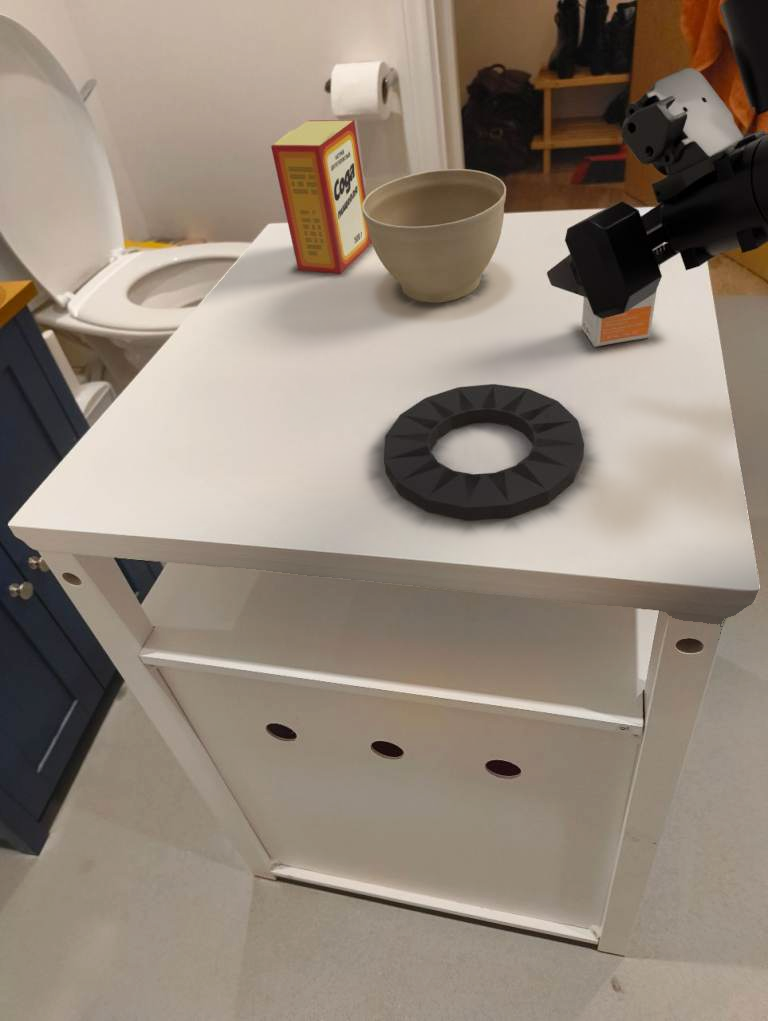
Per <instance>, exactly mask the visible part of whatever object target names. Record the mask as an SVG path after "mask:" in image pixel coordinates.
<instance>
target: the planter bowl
mask: <svg viewBox="0 0 768 1021" xmlns="http://www.w3.org/2000/svg"><path fill="white" fill-rule="evenodd" d="M365 197H366V198H365V199H364V201H363V204H362V211H363V216H364V219H365V221H366V223H367V228H368V232H369V236H370V239H371V242H372V243H371V244H372V247H373V250H374V252H375V253H376V256H377V258H378V259H379V261H380V263H381V264H382V265H383V267H384V268H385V269H386V271H387V272H388V273H389V274H390V276H391V277H393V278H394V279H395V280H396V281H397V282H398V283H399V284H400V287H401V289H402V292H403V293H404V295H405V296H407V297H408V298H410V299H412V300H415V301H418V302H423V303H445V302H451V301H455V300H458V299H461V298H464V297H466V296H467V295H470V294H471V293H473V292H474V291H475V290H476V289H477V288H478V287H479V285H480V283H481V279H482V274H483V272H484V271H485V270H486V268H487V267H488V264H489V263H490V262H491V261H492V258H493V256H494V254H495V252H496V249H497V246H498V244H499V241H500V238H501V234H502V230H503V225H504V218H505V217H504V215H505V203H506V200H507V199H506V198H507V186H506V185H505V183H504V181H503V180H502V179H500V177H497V176H496V175H493V174H491V173H488V172H486V171H485V172H484V171H481V170H475V169H468V168H467V169H466V168H448V169H433V170H427V171H422V172H416V173H413V174H409V175H405V176H402V177H399V178H396V179H393V180H391V181H388V182H385V183H384V184H382V185H380V186H378V187H377V188H375V189H374V190H372V191H370V193H368V194H367V196H365Z"/></svg>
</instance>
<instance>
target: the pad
mask: <svg viewBox="0 0 768 1021" xmlns="http://www.w3.org/2000/svg"><path fill="white" fill-rule="evenodd" d="M579 422H580V421H579V420H578V419H577V418H576V416H574V415H573V414H572V413H571V412H570V411H569V410H568V409H567V408H566V407H565V406H564V405H563V404H562V403H561V402H560V401H558V400H557V399H554V398H552V397H549V396H548V395H545V394H543V393H540V392H539V391H538V392H537V391H535V390H533V389H531V388H526V387H519V386H511V385H505V384H497V383H489V384H479V385H466V386H457V387H454V388H451V389H448V390H445V391H442V392H439V393H436V394H432V395H429V396H427V397H425V398H422V399H421V400H420V401H418V402H417V403H415V404H414V405H413V406H411V407H409V408H408V409H406V410H404V411H403V412H402V413H400V414H399V415H398V417H397V418H396V420H395V421H394V423H393V424H392V426H390V429H389V430H388V431H387V433H386V434H385V436H384V448H383V450H384V451H383V463H384V471H385V474H386V475H387V477H388V479H389V480H390V482H391V484H392V485H393V487H394V489H395V491H396V492H397V493H398V495H399V496H401V497H402V498H404V499H405V500H407V501H408V502H410V503H411V504H413V505H415V506H416V507H418V508H420V509H422V510H423V511H425V512H427V513H428V514H434V515H438V516H443V517H448V518H453V519H457V520H461V521H467V522H473V521H486V520H499V519H510V518H514V517H516V516H519V515H523V514H525V513H527V512H530V511H534V510H536V509H538V508H541V507H544V506H547V505H548V504H550V503H551V502H552V501H553V500H554V499H556V498H558V496H560V495H561V494H562V493H563V492H564V491H565V490H566V489H568V488H569V487H570V486H572V484H573V483H574V482H575V480H576V477H577V474H578V472H579V470H580V466H581V464H582V462H583V459H584V455H585V454H584V452H585V442H584V438H583V433H582V431H581V426H580V423H579ZM480 423H493V424H498V425H499V424H500V425H505V426H508V427H511V428H513V429H515V430H517V431H520V432H522V433H523V434H524V435H525V437H526V438H527V439H528V440H529V441H530V442H531V444H532V448H531V449H530V452H529V454H528V455H527V456H525V457H524V458H522V460H520V461H519V462H518V463H517V464H515V465H513V466H510V467H508V468H505V469H502V470H501V469H500V470H498V471H496V472H487V473H486V472H485V473H475V474H474V473H468V472H464V471H458V470H453V469H452V468H450V467H448V466H446V465H444V464H443V463H440V462H439V461H438V460H437V459H436V457H435V456H434V454H433V453H432V450H433V449H434V447H435V446H436V444H437V442H438V441H439V439H440V438H442V437H443V436H445V435H446V434H447V433H449V432H450V431H452V430H453V429H457V428H460V427H463V426H466V425H469V424H480Z"/></svg>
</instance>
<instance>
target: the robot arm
mask: <svg viewBox="0 0 768 1021" xmlns="http://www.w3.org/2000/svg"><path fill="white" fill-rule="evenodd" d="M719 9H720V13H721V16H722V19H723V24H724V26H725V29H726V32H727V36H728V39H729V42H730V46H731V49H732V53H733V55H734V58H735V62H736V66H737V69H738V72H739V76H740V79H741V82H742V86H743V90H744V92H745V96H746V98H747V102H748V105H749V109H754V112H755V115H756V116H760V115H762V114H764V113H767V112H768V0H725V1H723V2H722V3H721V4H720V6H719ZM624 112H625V113H624V114H625V117H626V118H625V119H624V121H623V124H622V127H621V139H622V141H623V143H624V144H625V145H626V146H627V148H628V149H629V150H630V151H631V153H632V154H633V155H634V157H635V159H637V161H638V162H639V163H640V165H647V166H648V165H652V167H654V169H655V170H656V171H658V173H660V174H661V175H663V176H664V177H663V178H660V179H659V180H656V181H655V182H653V183H651V184H650V186H651V188H652V192H653V195H654V197H655V200H656V202H657V203H658V204H657V205H656V206H653V208H650V209H651V210H650V211H648V212H647V213H645V214H644V215H642V216H641V215H640V213H639V210H640V209H637V208H636V207H634V206H632V205H630V204H629V203H627V202H625V201H623V200H621V201H619V202H617V203H614V204H613V205H610V206H608V207H605V208H604V209H602V210H600V211H597V212H596V213H594V214H592V215H591V216H588V217H587V218H584V219H582V220H580V221H579V222H577V223H575V224H573V225H572V226H570V227H568V228H567V229H566V233H565V238H564V241H565V245H566V247H567V249H568V252H569V254H568V255H567V256H566V257H564V258H563V259H561V260H560V261H559V262H558V263H556V264H555V265H554V266H553V267H552V268H550V269H549V270H547V272H546V276H547V278H548V281H549V283H550V285H551V286H552V287H554V288H557V289H561V290H563V291H565V292H569V293H571V294H575V295H577V296H581V297H582V298H584V297H586V298H587V299H588V301H589V304H590V306H591V309H592V312H593V314H594V315H595V316H597V317H599V318H601V319H604V318H608V317H611V316H615V315H619V314H622V313H625V312H626V311H628V310H629V309H631V308H632V307H634V306H635V305H637V304H639V303H640V302H642V301H643V300H645V299H646V298H648V297H649V296H651V295H653V294H654V293H655V292H656V293H657V291H656V290H658V287H659V285H660V282H661V280H662V278H663V275H662V273H661V268H660V269H659V265H660V266H661V265H662V264H664V263H666V262H667V261H669V260H671V259H672V258H673V257H675V256H677V255H678V254H680V257H681V260H682V263H683V266H684V268H685V271H689V270H693V269H696V268H699V267H701V266H702V265H704V264H705V263H707V262H708V261H710V260H711V259H713V258H714V257H716V256H718V255H720V254H723V253H726V252H729V251H733V250H736V249H739V248H740V251H741V253H742V254H745V253H748V252H751V251H754V250H756V249H759V248H760V247H762V246H763V245H765V244H766V243H768V132H765V129H760V130H758V131H756V132H754V133H750V132H746V133H744V134H742V132H741V130H740V129H739V126H738V125H737V124H736V122H735V117H734V115H733V114H732V112H731V111H730V109H729V108H728V107H727V105H726V104H725V102H724V101H723V100H722V98H721V97H720V96H719V95H718V93H717V92H716V91H715V89H714V88H713V86H712V85H711V83H709V81H708V80H707V78H706V77H705V76H704V75H703V74H702V73H701V72H700V71H699V70H698V69H696V68H694V67H693V68H692V67H685V68H682V69H680V70H678V71H676V72H673V73H671V74H669V75H666V76H665V77H663V78H660V79H658V80H656V81H655V82H654V83H653V84H652V86H651V87H650V88H649V89H648V91H647V92H645V93H644V94H643V95H642V97H640V98H639V99H638V100H635V101H633V102H631V103H629V104H628V105H627V106H626V107H625V111H624ZM661 244H663V245H662V246H660V247H659V248H657V249H656V250H653V249H654V248H656V247H658V246H659V245H661Z"/></svg>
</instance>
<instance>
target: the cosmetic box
mask: <svg viewBox="0 0 768 1021" xmlns="http://www.w3.org/2000/svg"><path fill="white" fill-rule="evenodd" d="M651 209H652V208H651V207H646V208H641V209H640V208H639V209H638V210H639V213H640V215H641V216H642V215H644V214H645V213H647V212H648V211H650V210H651ZM662 245H664V243H663V244H661V245H659V246H658V247H656V248H654V249H653V250H656V249H657V248H659V247H660V246H662ZM659 269H660V270H661V265H659ZM657 290H658V289H657ZM657 290H656V292H655V293H654V294H653V295H651V296H649V297H648V298H646V299H645V300H643V301H642V302H640V303H639V304H637V305H635V306H634V307H632V308H631V309H629V310H628V311H626V312H625V313H622V314H619V315H615V316H611V317H608V318H604V319H601V318H599V317H597V316H595V315H594V314H593V312H592V309H591V306H590V304H589V301H588V299H587V298H586V297H583V303H582V316H581V317H582V318H581V329H582V330H583V333H584V334H585V335H586V337H587V338H588V340H589V341H590V343H591V344H592V346H593V347H594V348H597V347H601V346H606V345H611V344H618V343H623V342H629V341H630V342H631V341H636V340H642V339H648V338H650V337H651V332H652V326H653V319H654V311H655V304H656V298H657Z"/></svg>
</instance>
